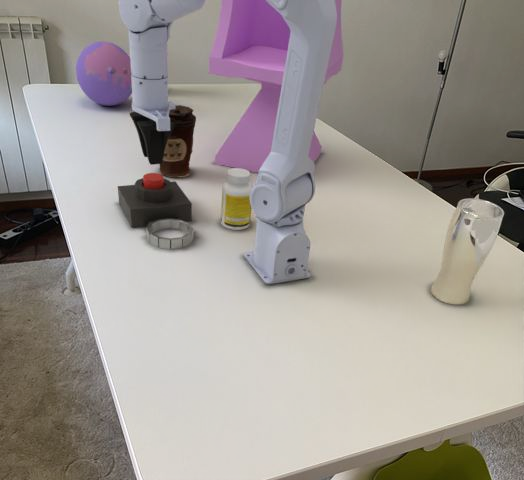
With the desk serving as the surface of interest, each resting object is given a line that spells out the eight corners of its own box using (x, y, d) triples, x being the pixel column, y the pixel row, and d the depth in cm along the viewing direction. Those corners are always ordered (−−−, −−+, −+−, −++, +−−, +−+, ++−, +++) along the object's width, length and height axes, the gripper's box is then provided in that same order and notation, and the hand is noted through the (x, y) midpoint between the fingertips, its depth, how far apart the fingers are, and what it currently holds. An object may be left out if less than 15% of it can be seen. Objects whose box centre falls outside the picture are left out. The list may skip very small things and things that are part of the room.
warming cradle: (198, 245, 94) (199, 236, 93) (153, 251, 91) (153, 242, 90) (183, 222, 100) (183, 213, 99) (140, 226, 97) (140, 217, 96)
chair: (206, 164, 122) (213, -96, 93) (241, 135, 139) (256, -93, 110) (303, 185, 118) (341, -81, 89) (327, 152, 134) (365, -80, 106)
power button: (166, 189, 98) (166, 180, 97) (146, 191, 97) (146, 181, 96) (160, 181, 101) (160, 172, 99) (141, 183, 99) (140, 173, 98)
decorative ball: (98, 116, 140) (91, 51, 130) (69, 100, 148) (61, 37, 138) (148, 108, 148) (145, 46, 139) (118, 93, 156) (114, 34, 147)
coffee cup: (187, 183, 113) (187, 118, 105) (149, 177, 114) (146, 112, 106) (199, 168, 120) (200, 106, 111) (163, 162, 120) (161, 100, 112)
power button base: (191, 221, 100) (191, 192, 97) (131, 228, 96) (129, 198, 93) (175, 198, 107) (175, 170, 104) (119, 203, 103) (116, 175, 100)
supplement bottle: (255, 228, 101) (259, 176, 94) (229, 233, 98) (232, 180, 92) (241, 215, 104) (244, 164, 98) (215, 220, 102) (217, 168, 96)
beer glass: (439, 277, 93) (468, 193, 83) (478, 294, 90) (512, 209, 80) (420, 293, 88) (448, 206, 79) (461, 312, 85) (495, 223, 76)
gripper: (188, 87, 84) (188, 174, 92) (160, 63, 93) (162, 143, 102) (143, 88, 81) (147, 177, 90) (119, 63, 91) (124, 146, 99)
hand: (152, 159), depth 96 cm, fingers open, 3 cm apart
